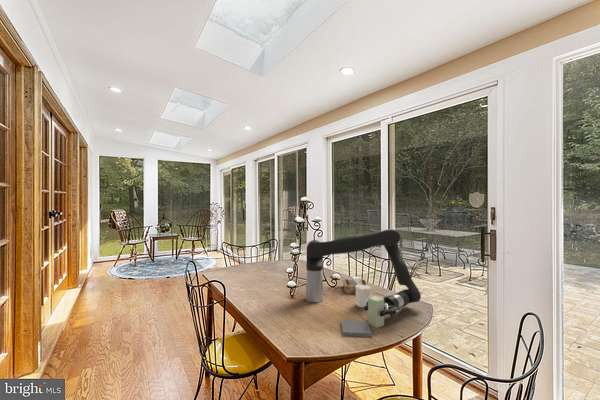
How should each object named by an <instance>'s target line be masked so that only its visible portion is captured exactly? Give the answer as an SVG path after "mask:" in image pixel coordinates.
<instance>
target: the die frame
mask: <svg viewBox="0 0 600 400" xmlns="http://www.w3.org/2000/svg"><path fill="white" fill-rule="evenodd" d="M351 279H352V278H343V279H342V281H343V283H342V284H343V290H344V294H349V295H351V294H352V295H353V294H354V295H356V286H350V285H349V282H348V281H349V280H351ZM361 281H362V284H363V285H368V286H369V284H368V282H367V280H366V279H362V278H361Z"/></svg>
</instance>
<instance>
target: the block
mask: <svg viewBox="0 0 600 400" xmlns="http://www.w3.org/2000/svg"><path fill="white" fill-rule="evenodd" d="M383 298H384V297H379V296H378V295H374V296H370V298H368V310H367V321H368V324H369V326H372V327H374V328H379V327H382V326H385V316H382V317H381V316H380V311H382V310H384V299H383Z"/></svg>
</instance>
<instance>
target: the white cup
mask: <svg viewBox="0 0 600 400" xmlns="http://www.w3.org/2000/svg"><path fill="white" fill-rule="evenodd" d="M371 290H372V289H371V286H370V285H369V284H368V285H356V294H355V300H356V302H355V303H356V306H357V307H359V308H363V309H364V306H366V302H368V298H370V297H371Z"/></svg>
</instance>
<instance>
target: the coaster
mask: <svg viewBox="0 0 600 400" xmlns="http://www.w3.org/2000/svg"><path fill="white" fill-rule="evenodd" d="M340 324H341V326H340V327H341V332H342V336H343V337H368V338H370V337H371V338H372V337H373V333H372V330H371V327H370V325H369V324H368V320H344V319H342V320H340Z"/></svg>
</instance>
